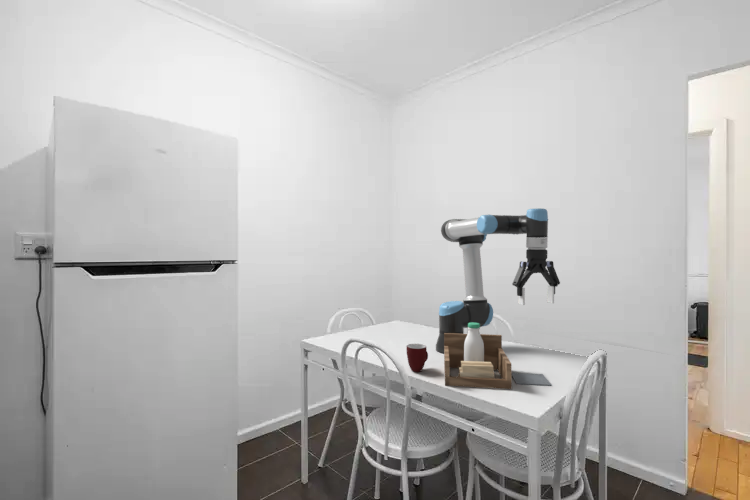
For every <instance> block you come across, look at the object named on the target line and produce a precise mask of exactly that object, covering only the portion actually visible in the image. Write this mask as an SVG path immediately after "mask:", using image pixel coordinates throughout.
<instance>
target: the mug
mask: <svg viewBox="0 0 750 500" xmlns="http://www.w3.org/2000/svg"><path fill="white" fill-rule="evenodd" d="M406 356H407V364H408V366H409V368H410V370H411V371H412V372H414V373H420V372H422V370H423V368H424V367H425V364H426V361H427V360H428V358H429V353H428V351H427V345H426V344H424V343H423V344H422V343H408V344H407V345H406Z"/></svg>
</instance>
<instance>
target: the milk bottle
mask: <svg viewBox="0 0 750 500" xmlns="http://www.w3.org/2000/svg"><path fill="white" fill-rule="evenodd" d="M467 329H468V331H467V333H466V334H467V337H466V339H465V342H464V361H478V362H484V343H483V340H482V338H481V335H480V334H481V332H480V330H481V327H480V324H479V323H474V322H471V323H468V328H467Z"/></svg>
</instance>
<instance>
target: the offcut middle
mask: <svg viewBox="0 0 750 500" xmlns="http://www.w3.org/2000/svg"><path fill="white" fill-rule="evenodd" d="M458 374H459V376H460V377H478V378H495V372H494V371H493V373H471V372H462V369H461V367H459V368H458Z"/></svg>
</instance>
